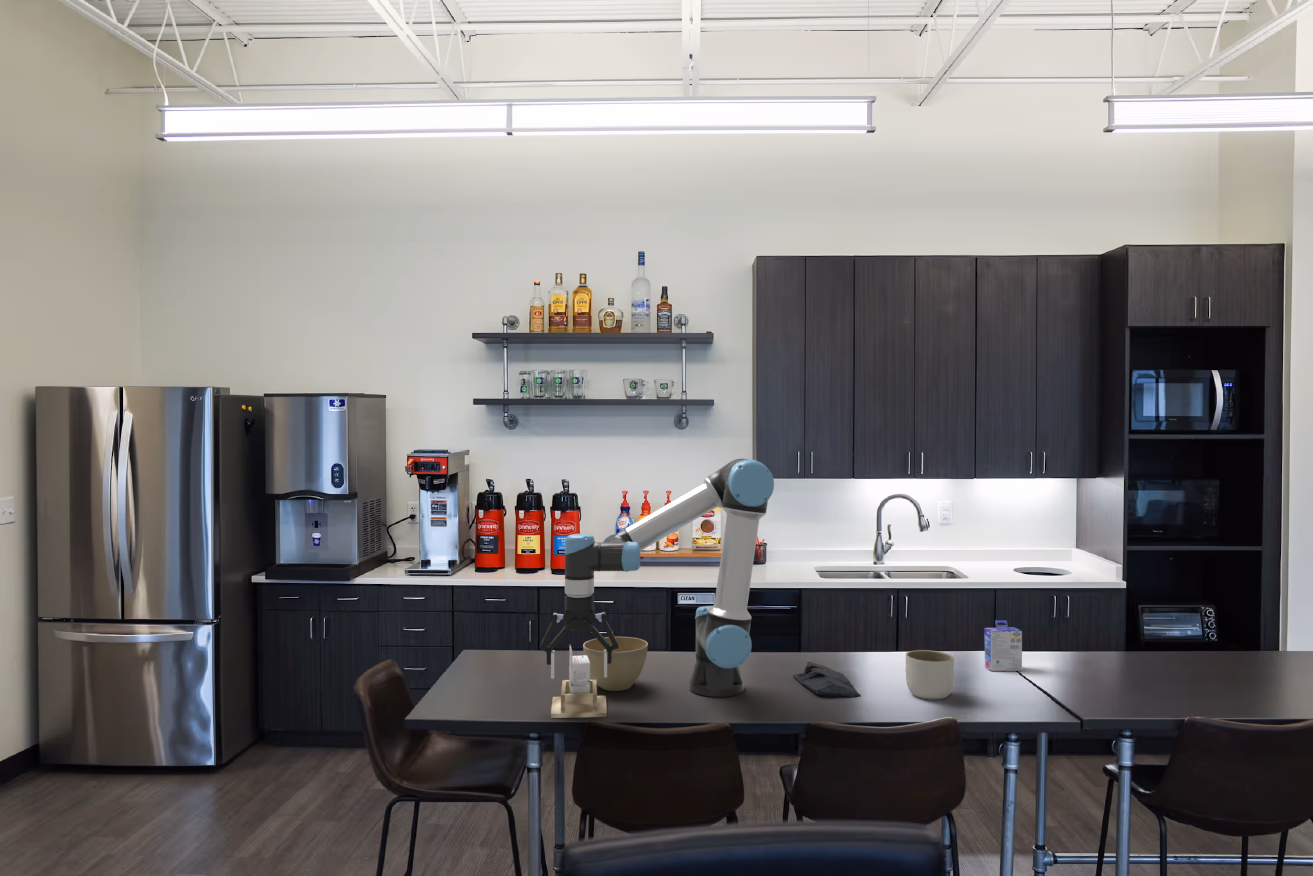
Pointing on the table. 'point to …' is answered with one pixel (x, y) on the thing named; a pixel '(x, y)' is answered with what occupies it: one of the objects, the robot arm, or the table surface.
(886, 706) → the table surface
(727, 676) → the robot arm
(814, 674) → the dark slate chunk
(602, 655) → the flower pot
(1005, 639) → the ink cartridge box
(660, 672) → the table surface
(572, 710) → the frame
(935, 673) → the planter
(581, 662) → the ink box
